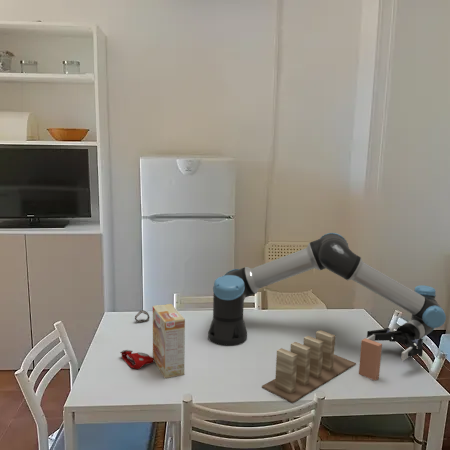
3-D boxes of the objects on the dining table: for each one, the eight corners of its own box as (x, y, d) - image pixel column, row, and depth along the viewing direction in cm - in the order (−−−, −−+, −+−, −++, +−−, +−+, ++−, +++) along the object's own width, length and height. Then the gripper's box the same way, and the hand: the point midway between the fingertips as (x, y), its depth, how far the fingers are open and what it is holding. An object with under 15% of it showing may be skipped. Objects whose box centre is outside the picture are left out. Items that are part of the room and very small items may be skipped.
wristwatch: (150, 321, 196) (150, 310, 195) (136, 324, 193) (136, 313, 192) (147, 319, 199) (147, 307, 198) (133, 321, 196) (133, 310, 195)
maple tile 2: (317, 378, 152) (319, 343, 150) (301, 371, 156) (303, 337, 154) (321, 375, 154) (323, 341, 151) (306, 369, 158) (308, 335, 156)
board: (292, 403, 138) (292, 401, 138) (261, 387, 147) (261, 385, 147) (355, 364, 163) (356, 362, 163) (326, 352, 172) (326, 351, 172)
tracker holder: (156, 353, 166) (153, 360, 156) (152, 366, 165) (149, 373, 155) (122, 345, 165) (117, 351, 155) (119, 357, 165) (113, 364, 155)
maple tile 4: (290, 393, 142) (292, 357, 140) (275, 386, 146) (276, 350, 144) (295, 391, 144) (297, 354, 142) (279, 383, 148) (281, 348, 146)
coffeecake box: (152, 358, 164) (151, 305, 160) (171, 355, 167) (172, 303, 163) (163, 379, 150) (164, 321, 147) (185, 375, 153) (185, 318, 150)
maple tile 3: (304, 385, 147) (306, 350, 145) (288, 378, 151) (290, 343, 149) (308, 383, 149) (310, 347, 147) (293, 376, 153) (295, 341, 151)
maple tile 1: (329, 371, 157) (331, 337, 155) (314, 365, 161) (316, 332, 159) (333, 369, 159) (335, 335, 156) (318, 362, 163) (320, 330, 160)
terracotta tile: (375, 380, 153) (378, 346, 151) (358, 373, 157) (361, 340, 155) (378, 378, 154) (382, 344, 152) (362, 371, 159) (365, 338, 156)
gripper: (443, 353, 167) (418, 373, 152) (378, 332, 184) (349, 348, 169) (445, 333, 165) (420, 351, 151) (379, 313, 183) (351, 328, 168)
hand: (383, 349), depth 160 cm, fingers open, 13 cm apart
